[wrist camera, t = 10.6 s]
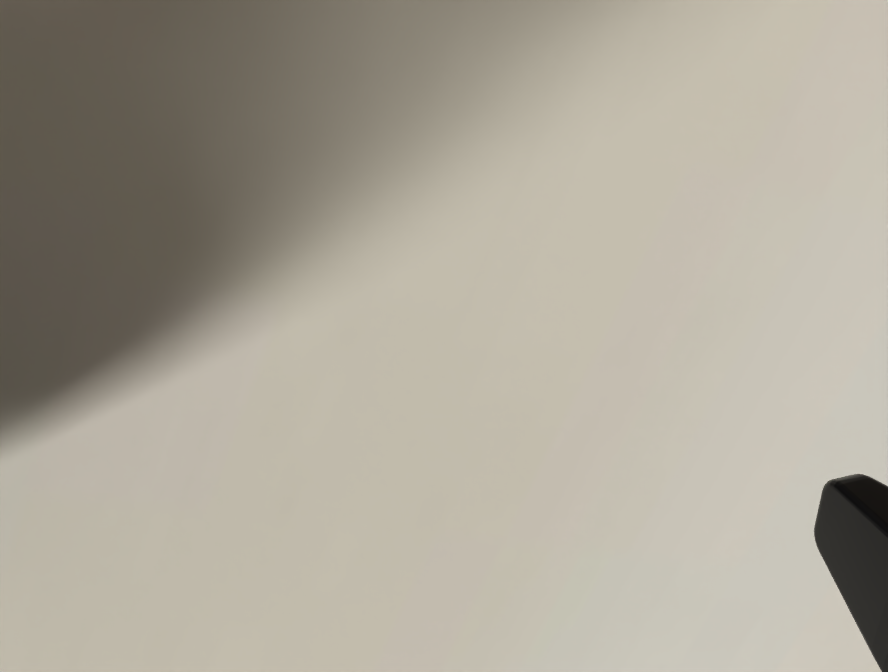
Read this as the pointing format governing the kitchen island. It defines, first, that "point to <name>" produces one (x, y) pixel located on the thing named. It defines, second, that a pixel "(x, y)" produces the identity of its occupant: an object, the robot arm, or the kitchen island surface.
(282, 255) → the kitchen island surface
